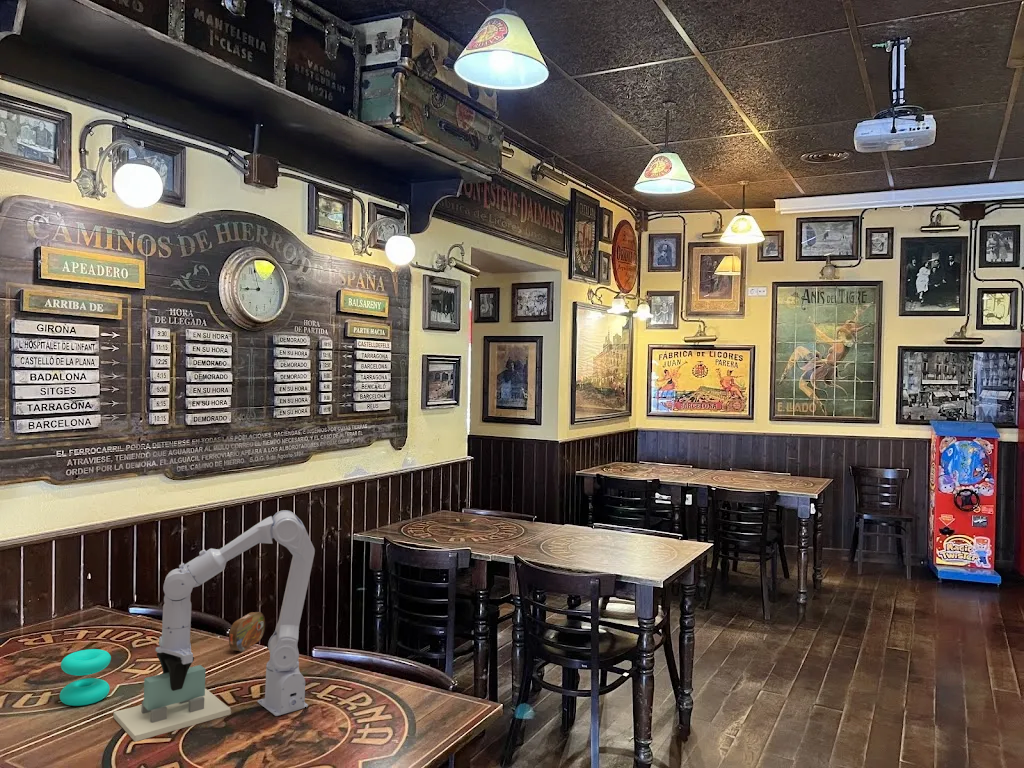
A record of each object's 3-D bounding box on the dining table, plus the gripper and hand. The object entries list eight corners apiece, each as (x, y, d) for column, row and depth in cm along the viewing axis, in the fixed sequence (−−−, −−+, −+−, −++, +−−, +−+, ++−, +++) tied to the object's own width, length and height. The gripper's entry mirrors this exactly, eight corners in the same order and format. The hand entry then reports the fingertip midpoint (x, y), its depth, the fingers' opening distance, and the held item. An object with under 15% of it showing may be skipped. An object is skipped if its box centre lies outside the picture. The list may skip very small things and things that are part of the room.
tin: (236, 656, 201) (237, 624, 201) (225, 654, 201) (227, 623, 201) (265, 637, 215) (266, 608, 215) (255, 636, 216) (257, 607, 216)
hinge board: (230, 714, 166) (231, 698, 166) (134, 741, 152) (135, 724, 152) (205, 693, 176) (206, 678, 176) (113, 717, 163) (114, 700, 162)
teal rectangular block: (204, 695, 168) (205, 668, 168) (148, 710, 159) (149, 682, 159) (199, 691, 170) (200, 664, 170) (143, 705, 162) (144, 678, 161)
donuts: (71, 666, 164) (54, 654, 170) (69, 712, 164) (52, 698, 170) (118, 655, 172) (100, 644, 178) (116, 698, 172) (98, 685, 178)
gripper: (146, 619, 167) (143, 680, 167) (169, 637, 156) (167, 702, 156) (178, 614, 172) (175, 672, 172) (203, 631, 161) (200, 693, 161)
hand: (173, 686), depth 164 cm, fingers closed on teal rectangular block, 3 cm apart
